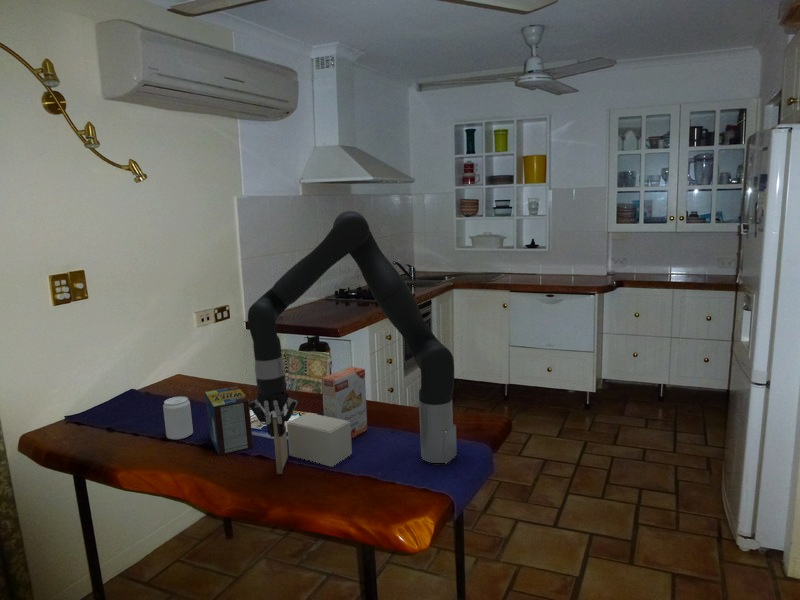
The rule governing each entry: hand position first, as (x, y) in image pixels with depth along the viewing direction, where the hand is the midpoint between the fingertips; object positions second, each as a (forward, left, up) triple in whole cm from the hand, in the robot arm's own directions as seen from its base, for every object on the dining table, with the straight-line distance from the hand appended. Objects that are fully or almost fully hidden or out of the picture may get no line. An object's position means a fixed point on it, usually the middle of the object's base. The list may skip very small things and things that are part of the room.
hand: (277, 435), depth 161 cm
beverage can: (+48, -5, -11) cm, 50 cm away
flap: (+3, -4, -11) cm, 12 cm away
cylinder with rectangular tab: (+31, -29, -11) cm, 44 cm away
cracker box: (-1, -28, -11) cm, 31 cm away
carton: (-2, -14, -11) cm, 18 cm away
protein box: (+29, -8, -11) cm, 32 cm away
